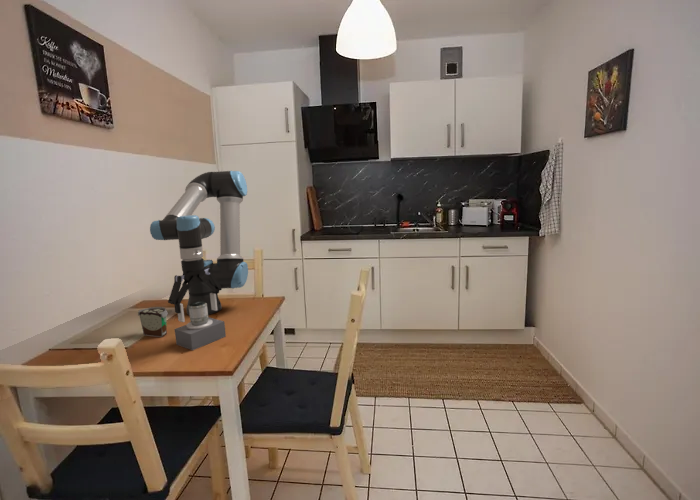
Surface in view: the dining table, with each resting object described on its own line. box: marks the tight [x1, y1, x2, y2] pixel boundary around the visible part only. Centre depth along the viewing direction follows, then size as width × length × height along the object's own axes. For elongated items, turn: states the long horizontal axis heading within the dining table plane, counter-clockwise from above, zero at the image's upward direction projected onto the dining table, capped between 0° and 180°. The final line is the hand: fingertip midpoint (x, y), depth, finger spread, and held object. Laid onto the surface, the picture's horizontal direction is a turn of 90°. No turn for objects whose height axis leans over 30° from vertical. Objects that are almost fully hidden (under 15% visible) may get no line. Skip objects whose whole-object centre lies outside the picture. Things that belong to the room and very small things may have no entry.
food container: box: [137, 306, 169, 338], centre depth 149 cm, size 12×6×10 cm, turn 71°
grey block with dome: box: [174, 316, 227, 351], centre depth 140 cm, size 11×14×7 cm
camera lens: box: [188, 301, 209, 326], centre depth 138 cm, size 6×6×8 cm
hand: (198, 315), depth 139 cm, fingers open, 13 cm apart
